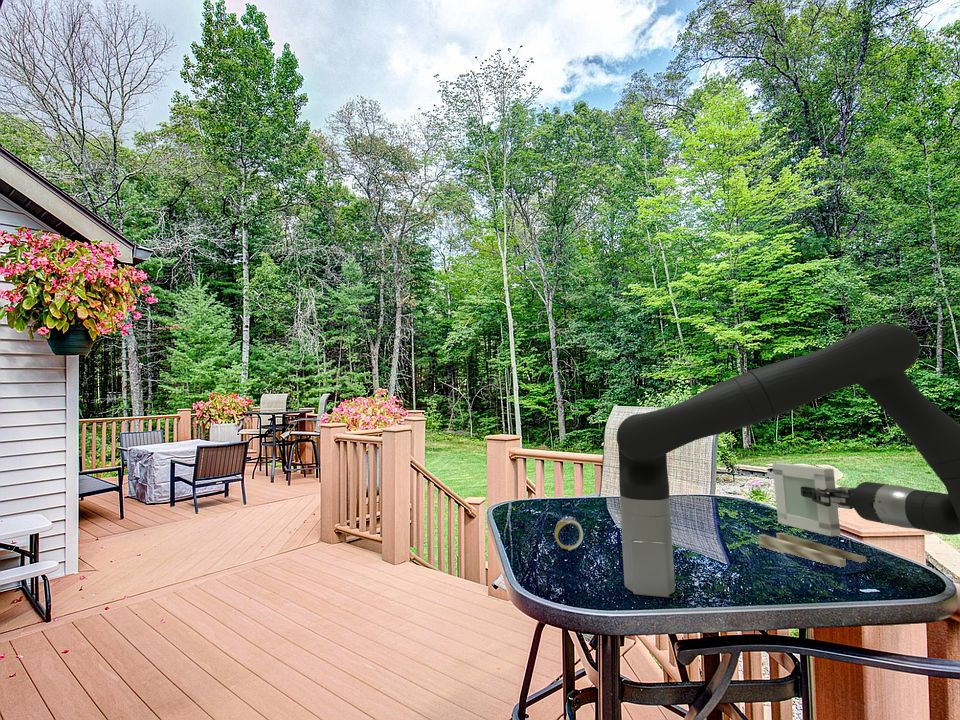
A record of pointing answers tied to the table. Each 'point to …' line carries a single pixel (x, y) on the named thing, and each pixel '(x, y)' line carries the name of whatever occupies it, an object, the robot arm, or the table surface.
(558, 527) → the bracelet
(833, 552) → the ledge
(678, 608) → the table surface
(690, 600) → the table surface
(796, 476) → the frame
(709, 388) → the robot arm
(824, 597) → the table surface
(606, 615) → the table surface
